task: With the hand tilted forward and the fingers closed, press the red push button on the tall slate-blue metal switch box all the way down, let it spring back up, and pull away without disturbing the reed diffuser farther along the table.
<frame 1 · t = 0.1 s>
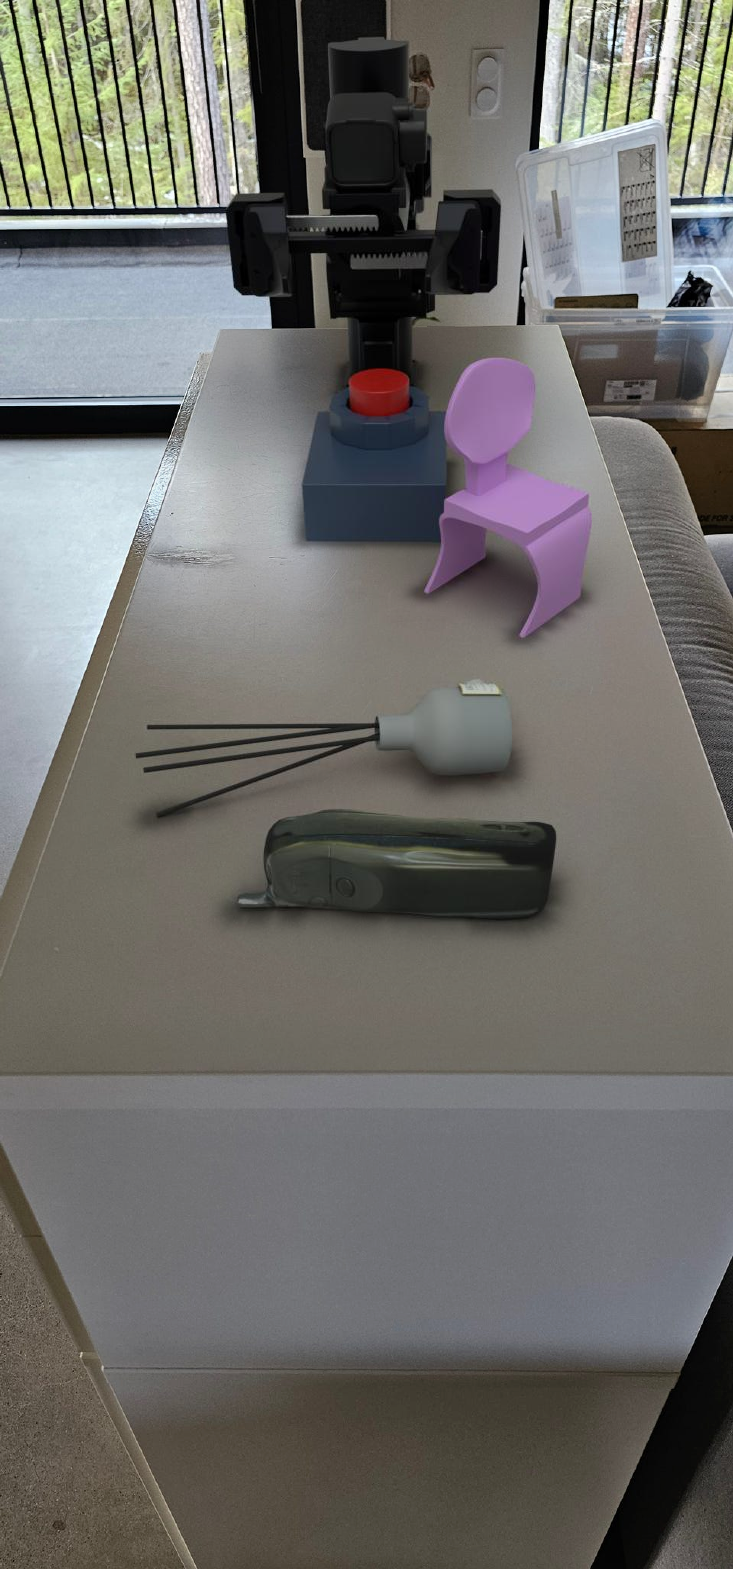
hand: (356, 284, 70), 17 cm above the cabinet, tool horizontal, fingers open, 9 cm apart
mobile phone: (394, 903, 54), on the cabinet
toy chair: (504, 599, 73), on the cabinet
button: (379, 393, 81), point 7 cm above the cabinet, slide at 0.1 cm
switch box: (379, 501, 83), on the cabinet
reed diffuser: (333, 776, 61), on the cabinet
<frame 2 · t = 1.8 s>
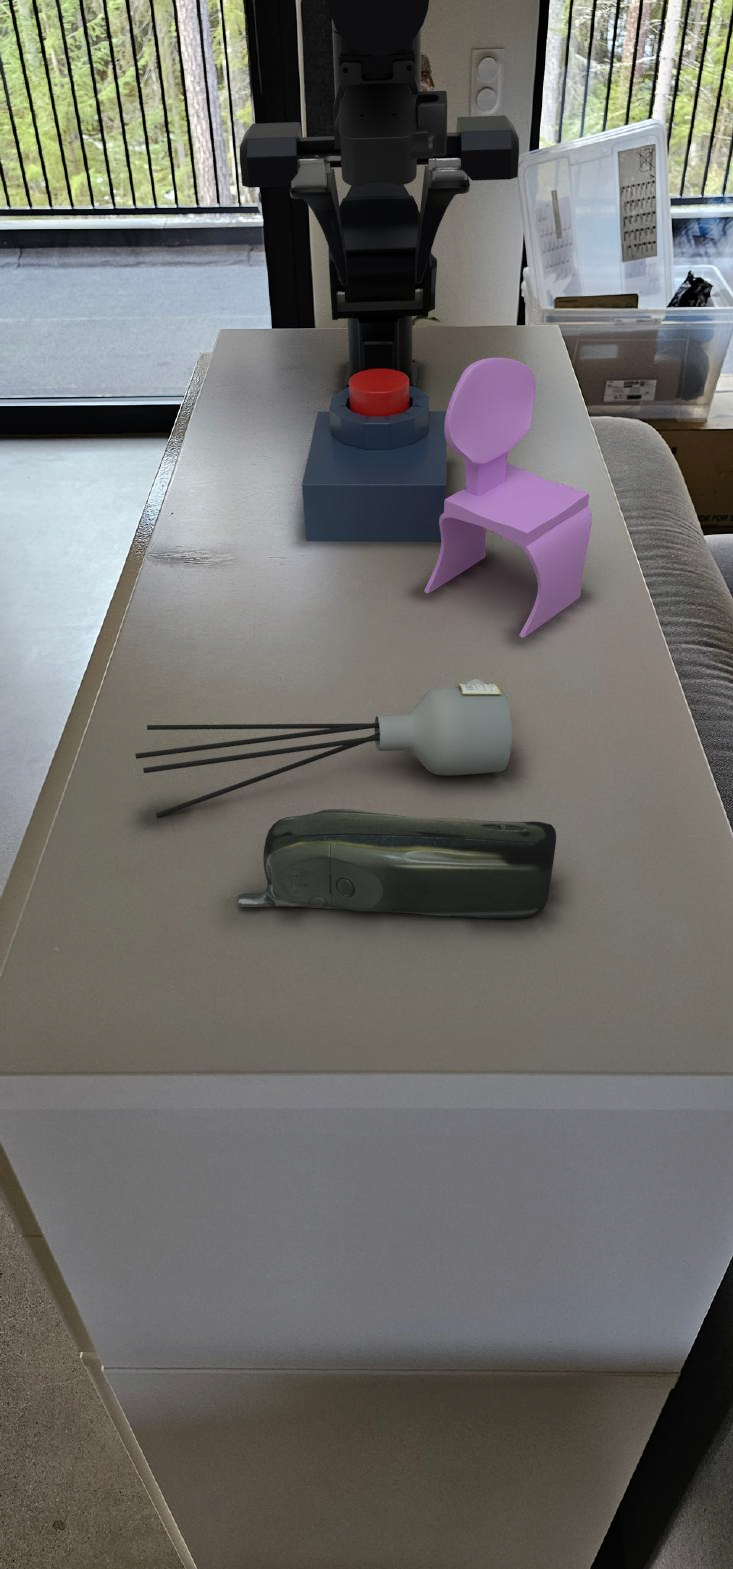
hand: (381, 282, 81), 13 cm above the cabinet, tool pointing down, fingers open, 5 cm apart
nothing on the cabinet moved.
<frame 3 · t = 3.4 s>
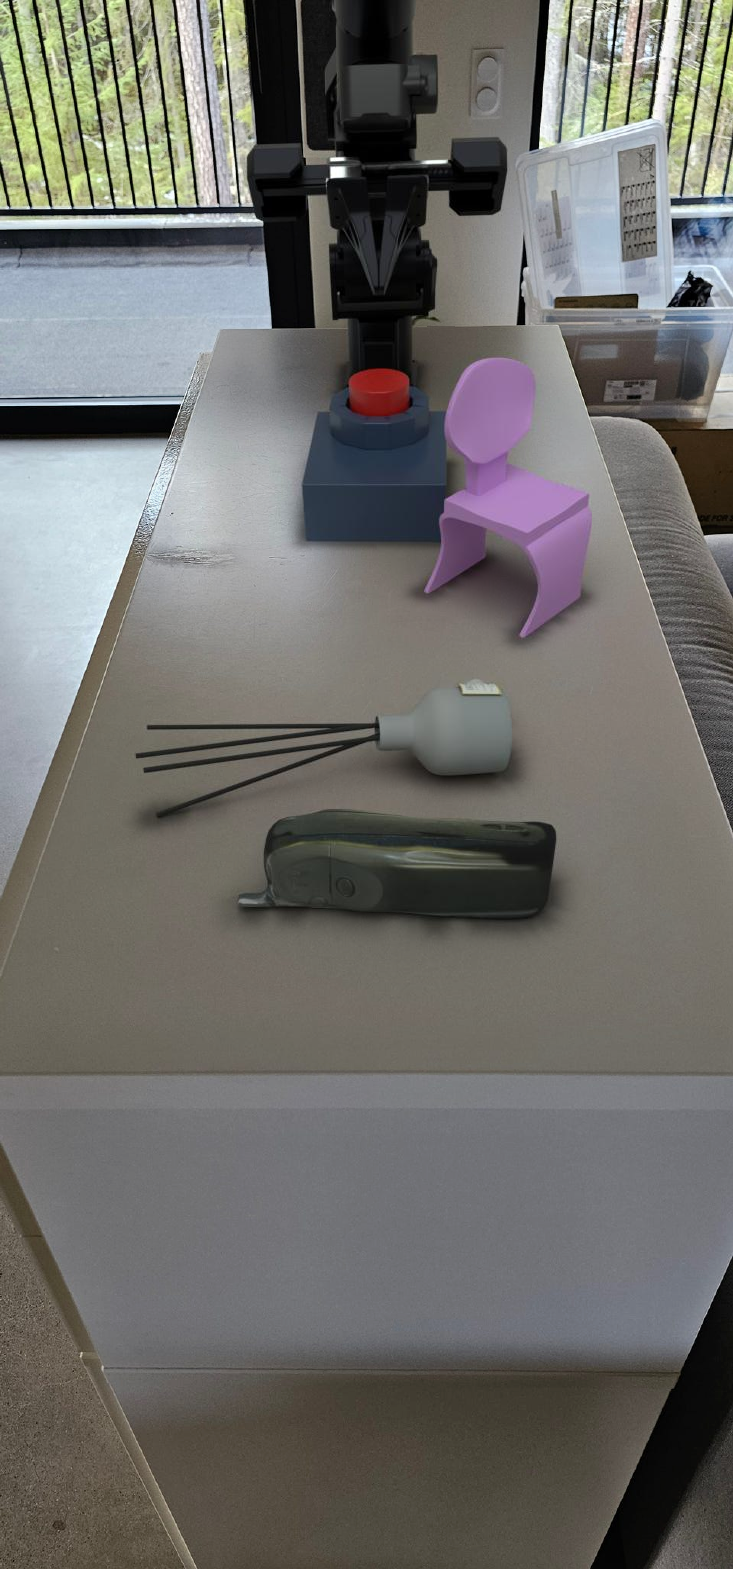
hand: (379, 292, 81), 13 cm above the cabinet, tool tilted 45°, fingers closed
nothing on the cabinet moved.
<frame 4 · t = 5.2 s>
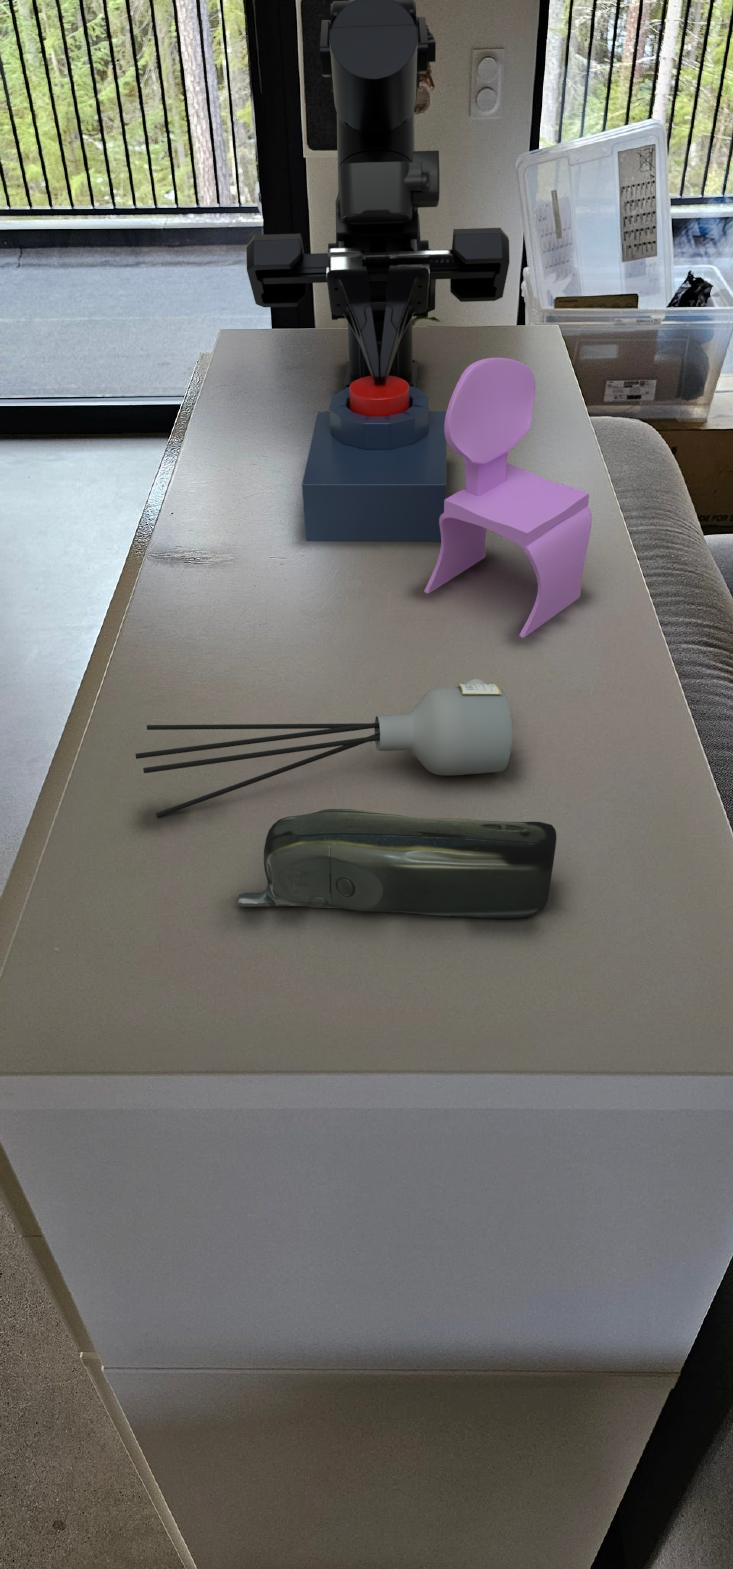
hand: (379, 382, 80), 8 cm above the cabinet, tool tilted 45°, fingers closed, pressing on button
button: (379, 400, 81), point 7 cm above the cabinet, slide at -0.4 cm, touching gripper
everything else where it was.
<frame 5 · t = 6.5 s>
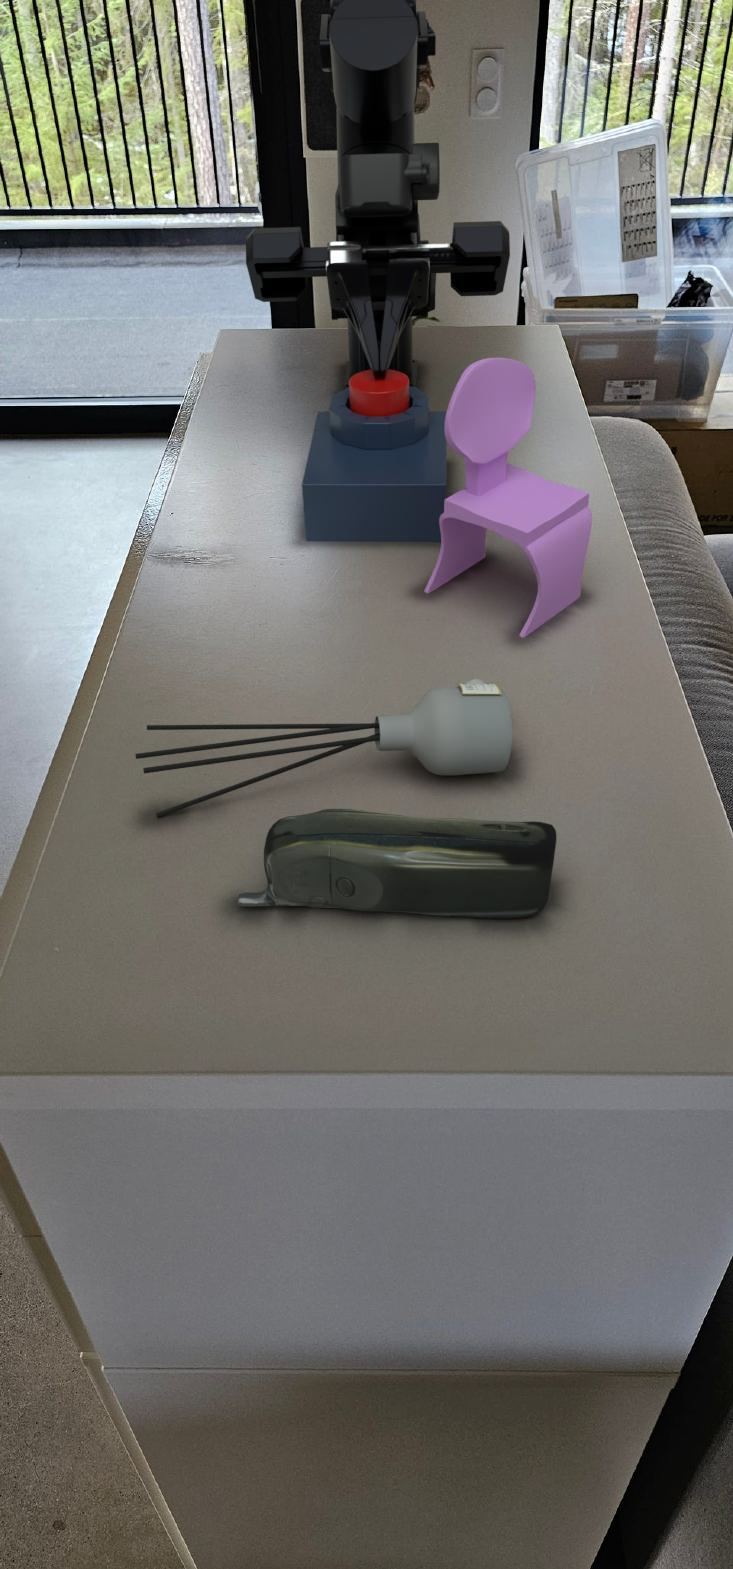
hand: (379, 376, 80), 8 cm above the cabinet, tool tilted 45°, fingers closed
button: (379, 394, 81), point 7 cm above the cabinet, slide at 0.1 cm
everything else where it was.
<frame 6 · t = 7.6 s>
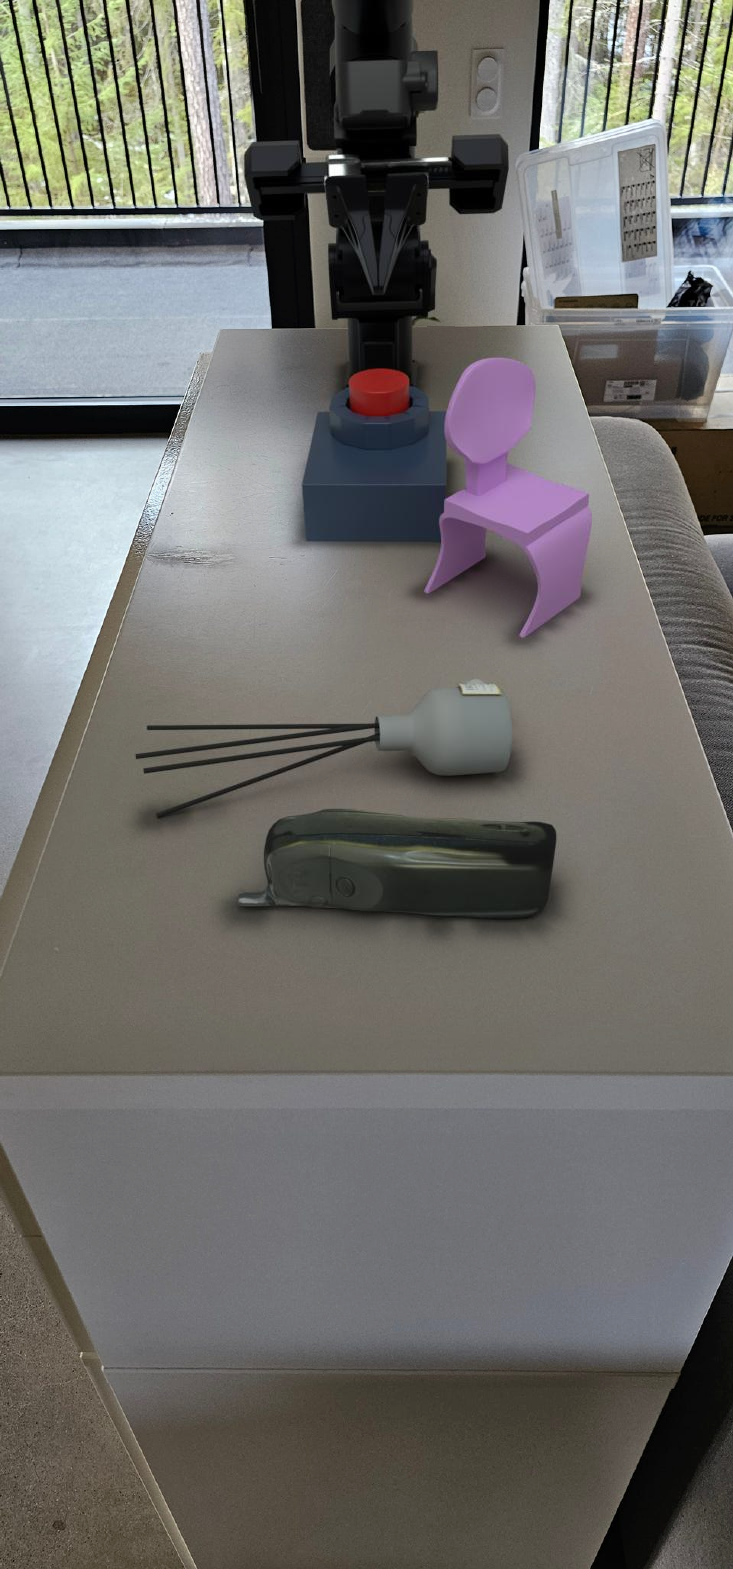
hand: (378, 292, 80), 13 cm above the cabinet, tool tilted 45°, fingers closed
nothing on the cabinet moved.
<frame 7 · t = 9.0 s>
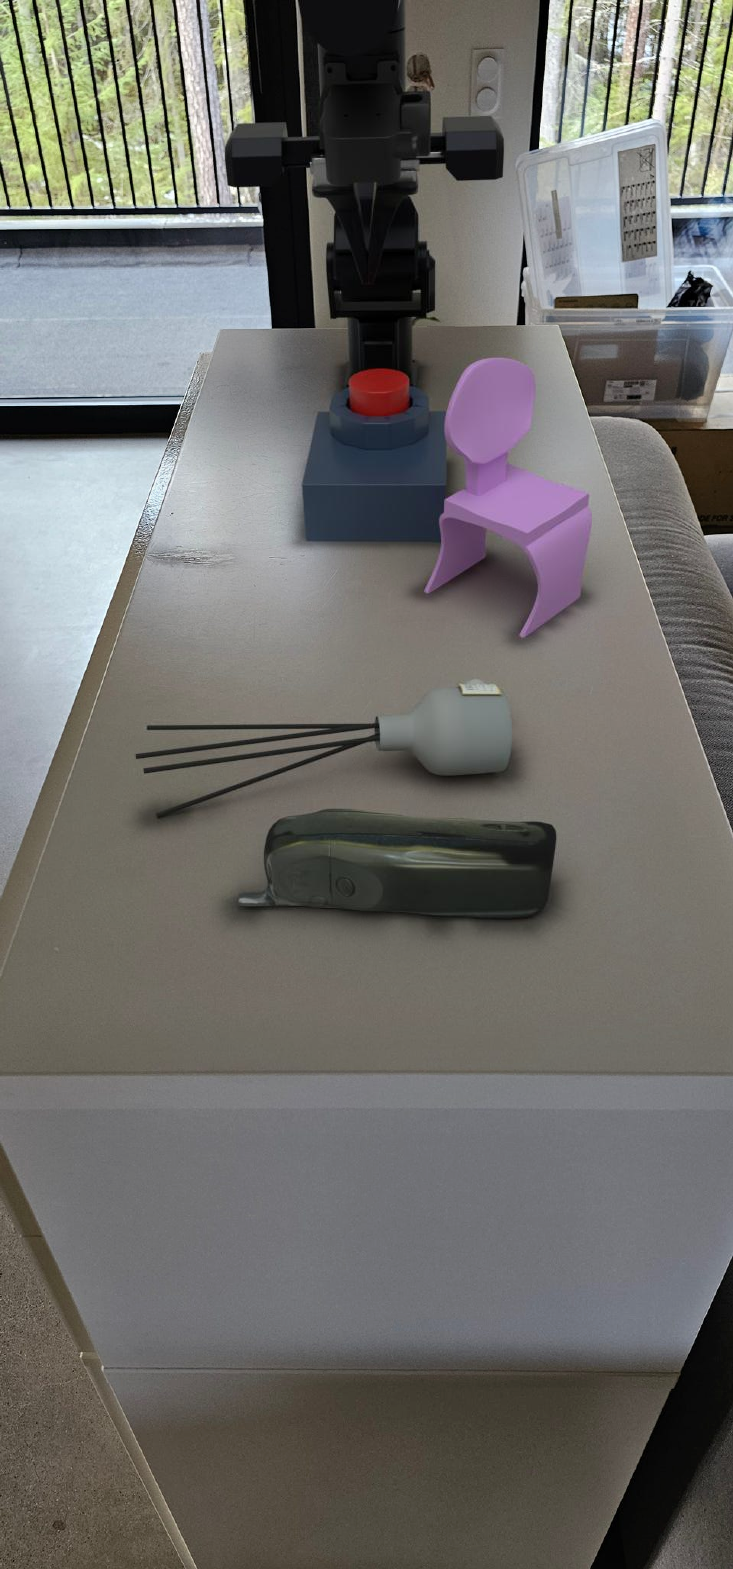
hand: (368, 282, 81), 13 cm above the cabinet, tool pointing down, fingers closed
nothing on the cabinet moved.
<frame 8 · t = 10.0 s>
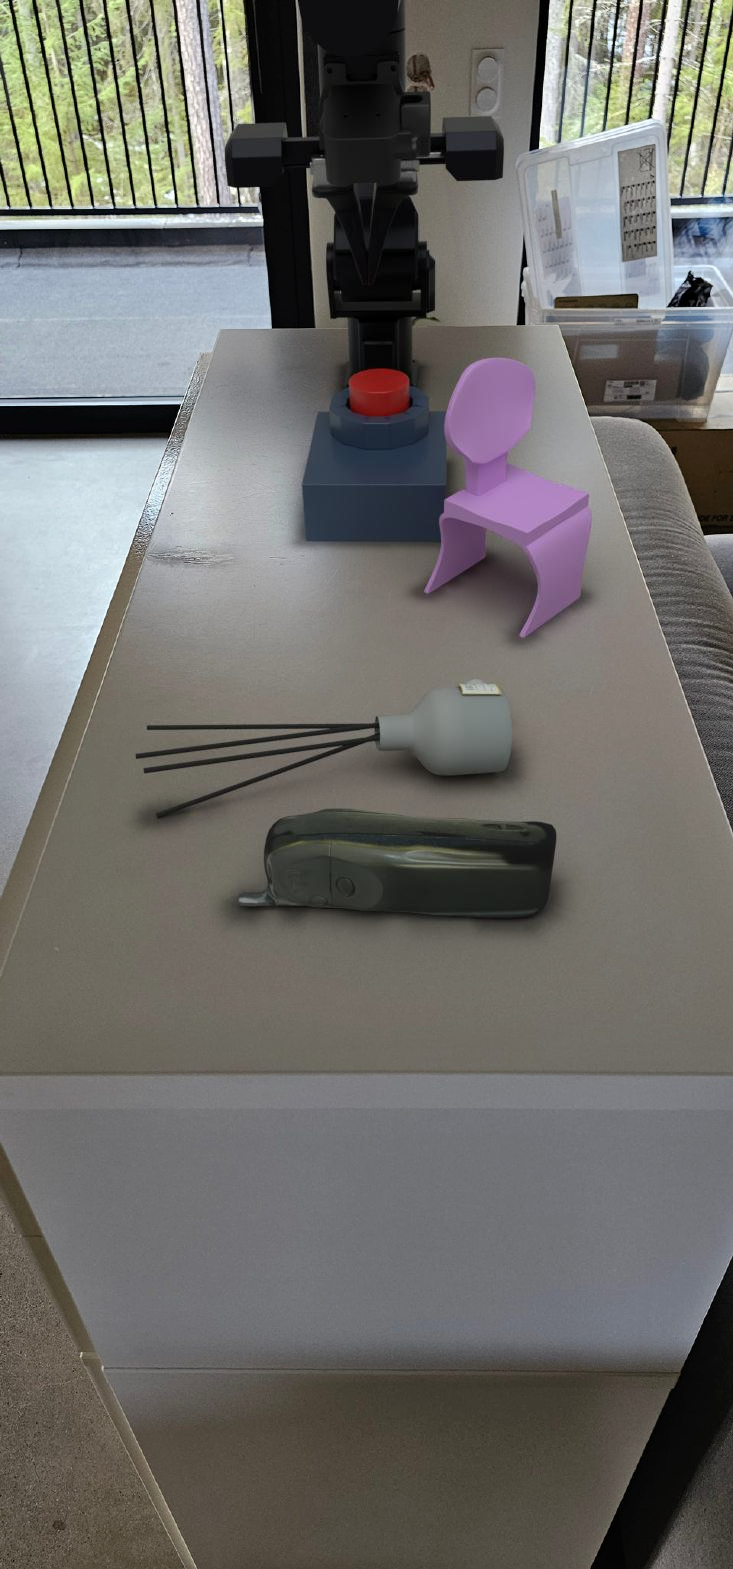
hand: (367, 283, 81), 13 cm above the cabinet, tool pointing down, fingers closed
nothing on the cabinet moved.
at the end: button pushed in 1.5 cm at the most during the clip, back to where it started at the end; button slide at 0.1 cm; reed diffuser moved 0.2 cm from its start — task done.
